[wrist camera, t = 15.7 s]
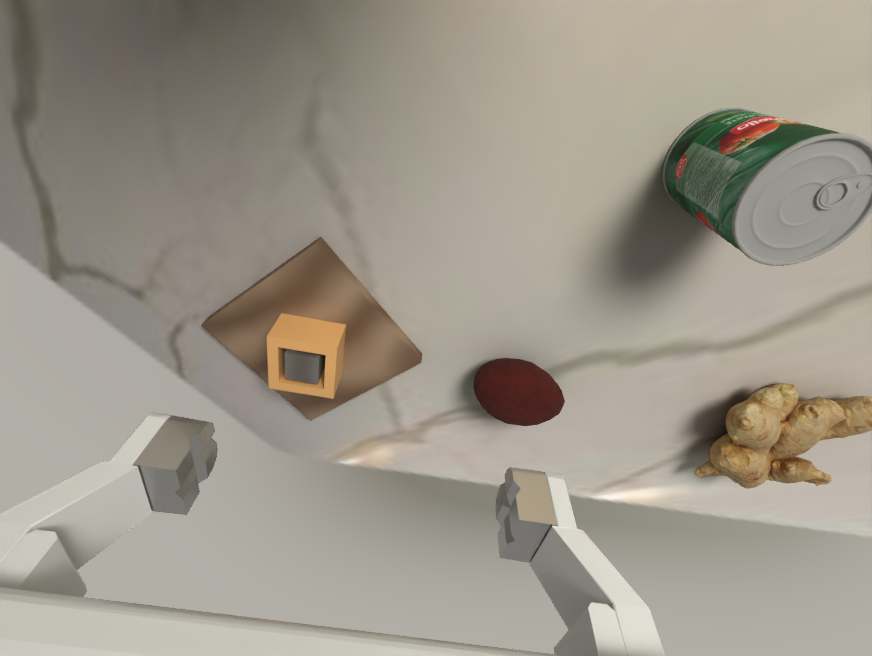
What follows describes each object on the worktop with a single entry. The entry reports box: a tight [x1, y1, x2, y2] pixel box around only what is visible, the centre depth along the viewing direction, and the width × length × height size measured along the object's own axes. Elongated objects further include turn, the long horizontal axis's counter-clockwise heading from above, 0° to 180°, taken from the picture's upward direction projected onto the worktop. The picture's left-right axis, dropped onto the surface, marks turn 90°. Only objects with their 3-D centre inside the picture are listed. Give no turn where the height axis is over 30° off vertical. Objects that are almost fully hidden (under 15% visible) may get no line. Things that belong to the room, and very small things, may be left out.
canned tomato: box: [662, 108, 872, 266], centre depth 30 cm, size 8×8×11 cm
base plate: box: [201, 237, 422, 420], centre depth 43 cm, size 16×16×6 cm
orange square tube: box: [267, 313, 346, 399], centre depth 43 cm, size 6×6×4 cm
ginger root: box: [695, 383, 872, 488], centre depth 47 cm, size 16×16×8 cm
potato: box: [474, 358, 565, 426], centre depth 45 cm, size 7×10×6 cm
